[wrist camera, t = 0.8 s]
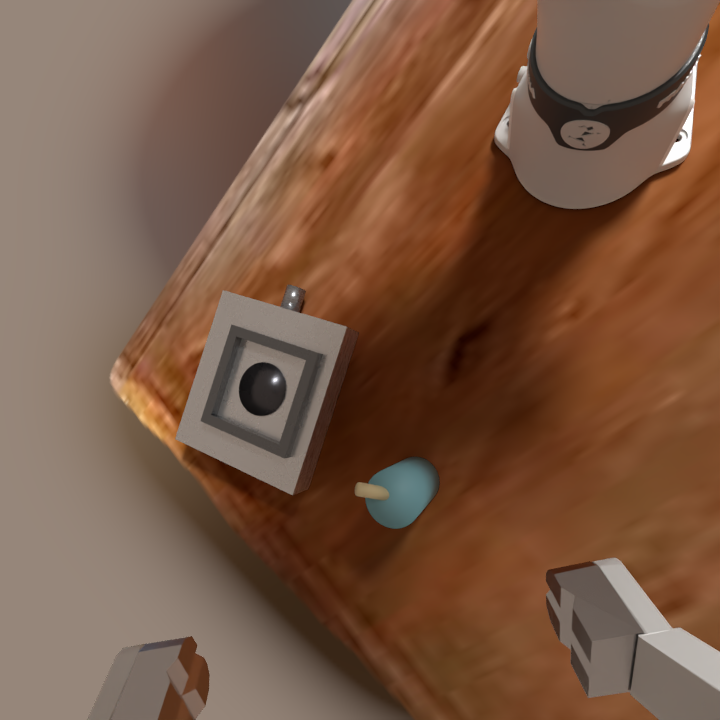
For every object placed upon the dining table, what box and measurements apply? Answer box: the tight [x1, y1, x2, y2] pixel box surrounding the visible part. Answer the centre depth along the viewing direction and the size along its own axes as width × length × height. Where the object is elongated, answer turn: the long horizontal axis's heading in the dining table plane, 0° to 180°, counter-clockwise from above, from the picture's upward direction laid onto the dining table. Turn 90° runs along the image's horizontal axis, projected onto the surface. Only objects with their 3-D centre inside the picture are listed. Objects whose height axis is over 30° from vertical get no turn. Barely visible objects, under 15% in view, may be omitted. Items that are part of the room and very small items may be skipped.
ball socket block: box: [175, 285, 359, 495], centre depth 52 cm, size 23×18×5 cm
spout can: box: [355, 457, 439, 529], centre depth 41 cm, size 5×6×12 cm
